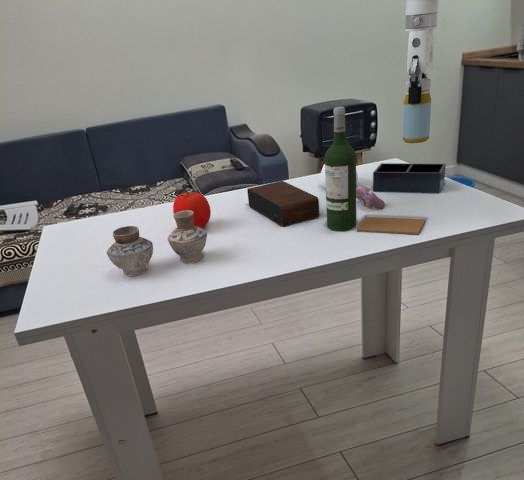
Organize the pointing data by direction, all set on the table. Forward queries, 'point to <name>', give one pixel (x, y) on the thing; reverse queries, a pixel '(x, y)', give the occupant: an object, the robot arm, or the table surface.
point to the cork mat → (391, 225)
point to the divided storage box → (409, 178)
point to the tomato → (193, 207)
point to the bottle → (417, 115)
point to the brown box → (283, 203)
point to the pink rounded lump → (369, 198)
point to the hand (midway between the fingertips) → (417, 100)
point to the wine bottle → (340, 178)
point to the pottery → (140, 249)
